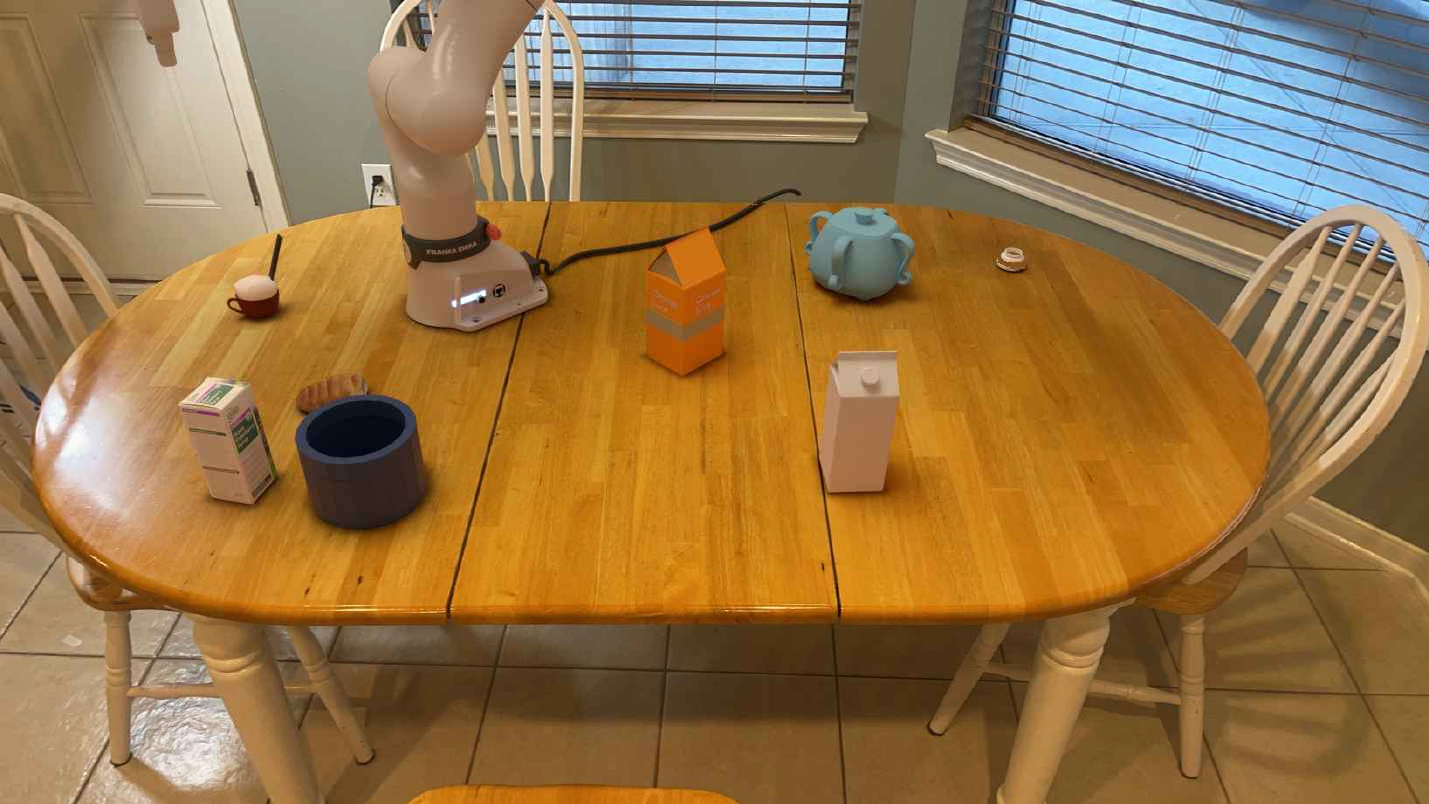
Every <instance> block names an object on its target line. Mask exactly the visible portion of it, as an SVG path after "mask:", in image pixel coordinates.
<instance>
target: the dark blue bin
mask: <svg viewBox="0 0 1429 804" xmlns="http://www.w3.org/2000/svg"><path fill="white" fill-rule="evenodd" d="M420 439H421V438H420V434H419V428H418V422H417V416H416V414H415V413H414V411H413V409H412V408H411V406H410V405H408V404H407V403H405V402H403V401H402V400H401V399H398V398H394V397H391V396H387V395H383V394H371V393H370V394H368V393H366V394H365V395H356V396H348V397H344V398H341V399H337V400H334V401H331V402H329V403H327V404H325V405H323V406H321V407H319V408H317V409H315V410H314V411H312V412H311V413H309V414H307V415H306V416H305V417H304V418H303V419H302V420H301V421H300V423H299V425H298V426H297V428H296V430H295V438H294V442H295V446H296V450H297V454H298V457H299V462H300V464H301V469H302V473H303V477H304V481H305V485H306V489H307V493H308V496H309V500H310V503H311V506H312V509H313V512H315V514H316V515H317V516H318V518H319V519H321V520H322V521H323V522H325V523H327V524H329V525H332V526H334V527H337V528H342V529H348V530H365V529H372V528H377V527H382V526H384V525H388V524H391V523H393V522H395V521H398V520H400V519H402V518H404V517H405V516H406V515H408V514H409V513H410V512H412V511H413V510H415V509H416V507H418V505H419V504H420V503H421V502H422V500H423V498H424V497H425V494H426V492H427V476H426V468H425V462H424V456H423V450H422V443H421V440H420Z"/></svg>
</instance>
